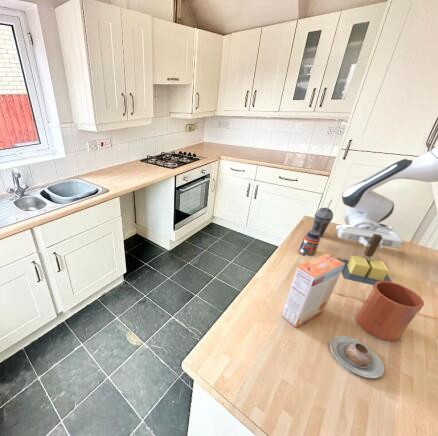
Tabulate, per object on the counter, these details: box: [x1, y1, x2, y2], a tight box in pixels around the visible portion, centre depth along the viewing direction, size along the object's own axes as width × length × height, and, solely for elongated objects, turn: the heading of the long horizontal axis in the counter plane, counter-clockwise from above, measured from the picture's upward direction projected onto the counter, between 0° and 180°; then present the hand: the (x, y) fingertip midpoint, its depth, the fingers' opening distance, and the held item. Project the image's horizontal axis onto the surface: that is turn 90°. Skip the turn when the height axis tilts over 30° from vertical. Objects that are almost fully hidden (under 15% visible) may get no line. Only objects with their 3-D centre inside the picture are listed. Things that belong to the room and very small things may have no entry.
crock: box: [355, 281, 425, 342], centre depth 73 cm, size 10×10×14 cm
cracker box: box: [280, 253, 345, 328], centre depth 76 cm, size 14×6×21 cm, turn 115°
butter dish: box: [336, 257, 393, 286], centre depth 96 cm, size 16×14×1 cm
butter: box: [347, 255, 389, 281], centre depth 95 cm, size 10×6×5 cm, turn 66°
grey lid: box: [329, 335, 385, 379], centre depth 66 cm, size 12×12×5 cm
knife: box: [362, 234, 382, 263], centre depth 95 cm, size 2×5×15 cm, turn 156°
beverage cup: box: [311, 199, 334, 238], centre depth 116 cm, size 7×7×20 cm
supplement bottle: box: [298, 229, 321, 257], centre depth 106 cm, size 6×6×11 cm
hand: (373, 246), depth 93 cm, fingers closed on knife, 2 cm apart
